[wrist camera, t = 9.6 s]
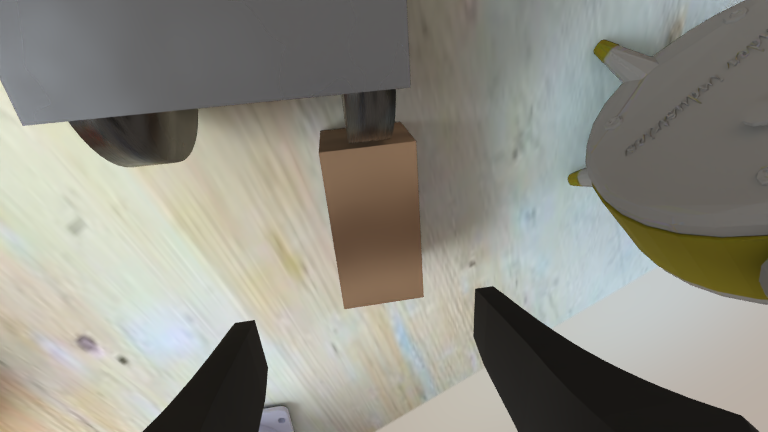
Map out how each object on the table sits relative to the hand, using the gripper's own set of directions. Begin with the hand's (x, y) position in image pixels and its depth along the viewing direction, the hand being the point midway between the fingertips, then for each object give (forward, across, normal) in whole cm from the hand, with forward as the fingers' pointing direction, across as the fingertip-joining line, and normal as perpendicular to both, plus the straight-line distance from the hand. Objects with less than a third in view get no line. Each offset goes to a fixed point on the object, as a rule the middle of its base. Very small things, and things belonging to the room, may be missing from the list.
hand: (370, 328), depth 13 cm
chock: (+10, -1, 0) cm, 10 cm away
